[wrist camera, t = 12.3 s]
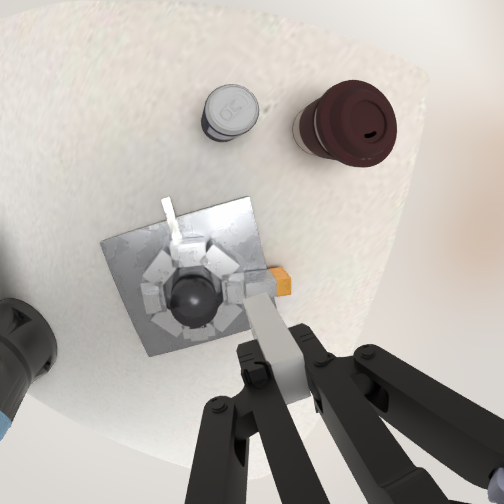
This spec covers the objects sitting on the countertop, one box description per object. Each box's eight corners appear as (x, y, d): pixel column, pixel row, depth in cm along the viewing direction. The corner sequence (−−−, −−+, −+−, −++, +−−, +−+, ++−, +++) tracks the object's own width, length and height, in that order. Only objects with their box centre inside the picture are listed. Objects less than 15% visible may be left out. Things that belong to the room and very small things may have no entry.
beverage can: (250, 121, 40) (273, 107, 29) (222, 150, 41) (235, 146, 29) (220, 94, 38) (232, 70, 27) (192, 123, 39) (193, 109, 27)
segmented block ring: (138, 243, 41) (132, 253, 36) (280, 229, 44) (290, 236, 40) (154, 331, 45) (151, 348, 40) (282, 315, 48) (291, 330, 44)
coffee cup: (290, 90, 40) (336, 62, 26) (350, 111, 42) (411, 97, 28) (276, 154, 42) (318, 152, 28) (337, 171, 44) (396, 179, 30)
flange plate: (149, 353, 47) (145, 384, 40) (95, 221, 40) (76, 234, 32) (287, 313, 50) (304, 339, 42) (254, 172, 42) (268, 175, 35)
